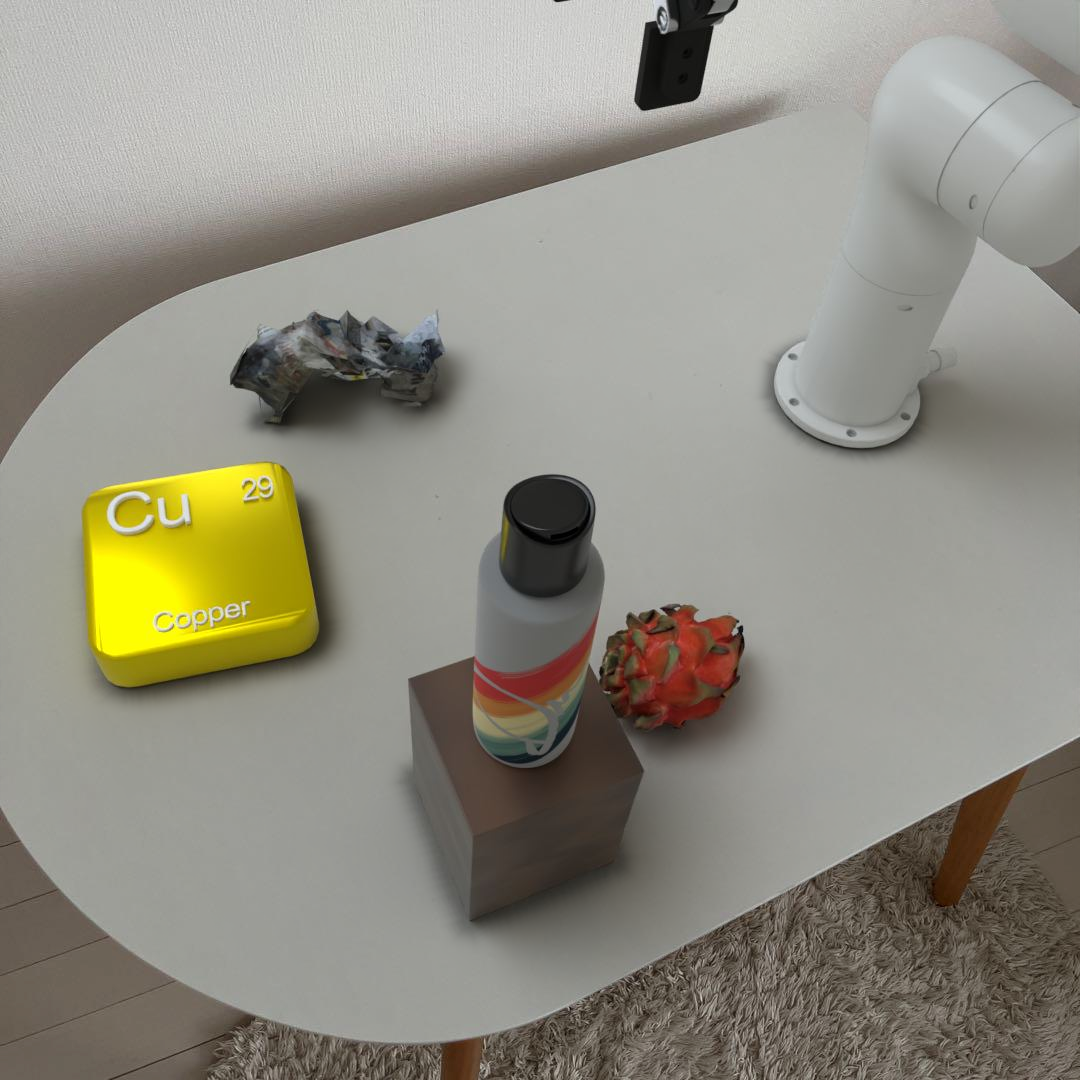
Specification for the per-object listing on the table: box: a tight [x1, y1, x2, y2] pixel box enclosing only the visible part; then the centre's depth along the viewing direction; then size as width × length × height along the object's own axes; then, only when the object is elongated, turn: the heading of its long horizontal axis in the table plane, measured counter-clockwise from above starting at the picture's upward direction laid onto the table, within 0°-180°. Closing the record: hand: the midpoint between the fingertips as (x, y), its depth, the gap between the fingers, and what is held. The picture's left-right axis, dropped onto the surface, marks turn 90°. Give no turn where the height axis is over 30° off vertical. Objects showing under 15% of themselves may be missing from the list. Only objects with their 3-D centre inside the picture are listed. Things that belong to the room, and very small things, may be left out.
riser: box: [407, 655, 645, 922], centre depth 67 cm, size 10×10×14 cm
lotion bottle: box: [473, 473, 606, 768], centre depth 53 cm, size 6×6×20 cm
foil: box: [229, 308, 446, 425], centre depth 92 cm, size 12×11×15 cm
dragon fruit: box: [598, 603, 746, 732], centre depth 76 cm, size 8×8×12 cm
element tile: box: [81, 461, 320, 688], centre depth 80 cm, size 15×15×5 cm
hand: (620, 46), depth 54 cm, fingers open, 9 cm apart
